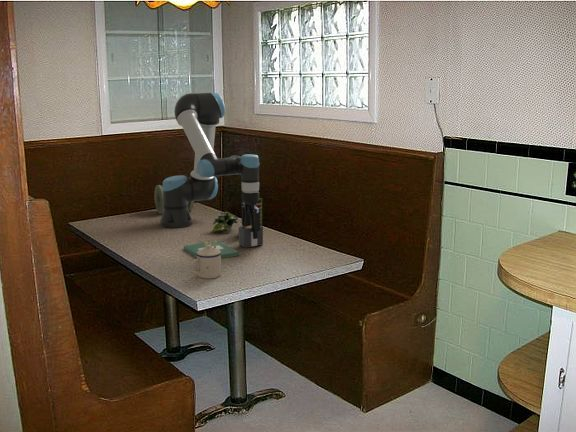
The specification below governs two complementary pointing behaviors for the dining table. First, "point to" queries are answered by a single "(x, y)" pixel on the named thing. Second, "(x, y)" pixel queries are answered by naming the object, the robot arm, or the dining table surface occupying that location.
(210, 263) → the teacup with lid
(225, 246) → the header board
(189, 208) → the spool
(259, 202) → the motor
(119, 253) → the dining table surface
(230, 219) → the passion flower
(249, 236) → the plug housing
